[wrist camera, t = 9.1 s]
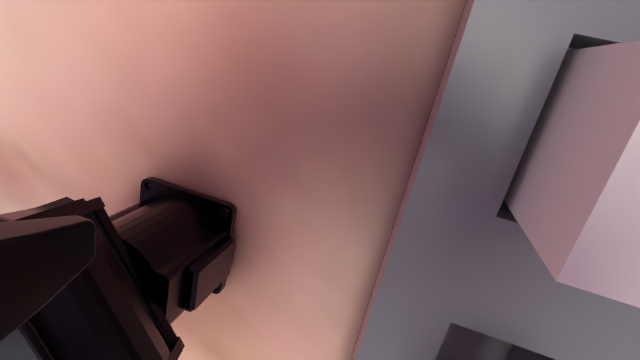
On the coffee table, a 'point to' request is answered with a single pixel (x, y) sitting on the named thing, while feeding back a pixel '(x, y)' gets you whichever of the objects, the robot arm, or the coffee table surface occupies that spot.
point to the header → (492, 204)
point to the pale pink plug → (586, 174)
